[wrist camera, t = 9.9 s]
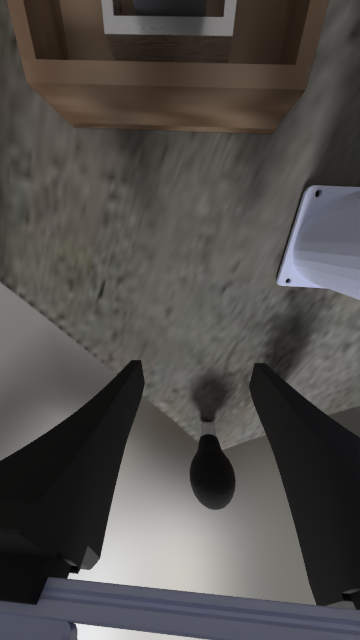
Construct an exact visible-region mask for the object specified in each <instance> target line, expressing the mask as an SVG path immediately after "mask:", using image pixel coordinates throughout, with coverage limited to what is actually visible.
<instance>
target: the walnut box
mask: <svg viewBox="0 0 360 640" xmlns="http://www.w3.org/2000/svg"><path fill="white" fill-rule="evenodd" d="M328 1H329V0H237V2H236V10H235V19H234V28H233V36H232V41H231V46H230V51H229V55H228V60H227V62H187V61H141V60H115V58H114V55H113V53H112V50H111V48H110V46H109V43H108V41H107V38H106V36H105V33H104V22H103V12H102V1H101V0H7V3H8V7H9V11H10V15H11V19H12V23H13V27H14V31H15V36H16V40H17V44H18V48H19V52H20V56H21V60H22V64H23V69H24V73H25V77H26V81H27V83H28V84H29V85H30V86H31V87H32V88H33V89H34V90H35V91H36V92H37V93H38V94H39V95H40V96H41V97H42V98H44V99H45V100H46V101H47V102H48V103H49V104H50V105H51V106H52V107H53V108H54V109H55V110H56V111H57V112H58V113H59V114H60V115H61V116H62V117H63V118H64V119H65V120H67V121H68V122H69V123H70V124H71V125H72V126H73V127H79V128H109V129H138V130H168V131H197V132H227V133H257V134H272V133H273V131H274V130H275V129H276V127H277V126H278V125H279V123H280V122H281V121H282V120H283V118H284V117H285V116H286V114H287V113H288V112H289V111H290V109H291V108H292V107H293V105H294V104H295V103H296V101H297V100H298V99H299V98H300V96H301V95H302V94H303V92H304V91H305V90H306V86H307V82H308V78H309V74H310V71H311V67H312V63H313V59H314V55H315V51H316V47H317V43H318V40H319V36H320V32H321V28H322V24H323V20H324V16H325V12H326V8H327V5H328ZM222 10H223V0H206V14H205V17H222ZM121 13H122V16H136V13H135V9H134V5H133V0H121Z"/></svg>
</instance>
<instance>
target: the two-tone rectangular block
mask: <svg viewBox="0 0 360 640" xmlns="http://www.w3.org/2000/svg"><path fill="white" fill-rule="evenodd" d="M133 5H134V9H135V13H136V16H176V17H205V14H206V0H133Z"/></svg>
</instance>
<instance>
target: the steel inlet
mask: <svg viewBox="0 0 360 640" xmlns="http://www.w3.org/2000/svg"><path fill="white" fill-rule="evenodd" d="M101 1H102V12H103V22H104V33H105V36H106V38H107V41H108V43H109V46H110V48H111V50H112V53H113V55H114V58H115V60H141V61H187V62H227V60H228V55H229V51H230V46H231V41H232V36H233V28H234V19H235V10H236V2H237V0H223V10H222V17H176V16H122V13H121V0H101Z"/></svg>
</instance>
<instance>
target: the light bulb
mask: <svg viewBox="0 0 360 640" xmlns="http://www.w3.org/2000/svg"><path fill="white" fill-rule="evenodd" d="M200 434H201V435H200V436H201V437H200V441H199V447H198V451H197V453H196V455H195V456H194V458H193V460H192V463H191V467H190V482H191V487H192V489H193V492H194V494H195V496H196V497H197V499H198V500H199V501H200V502H201V504H203V505H204V506H206V507H207V508H210V509H213V510H217V509H222V508H224V507H225V506H226V505H227V504H228V503H230V501H231V499H232V497H233V495H234V491H235V474H234V470H233V467H232V465H231V463H230V461H229V459H228V458H227V457H226V456H225V454H224V453H223V452H222V450H221V447H220V444H219V441H218V439H217V437H216V431H215V426H214V424H212V423H210V422H209V421H205V422H204V423H202V424H201V426H200Z"/></svg>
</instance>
